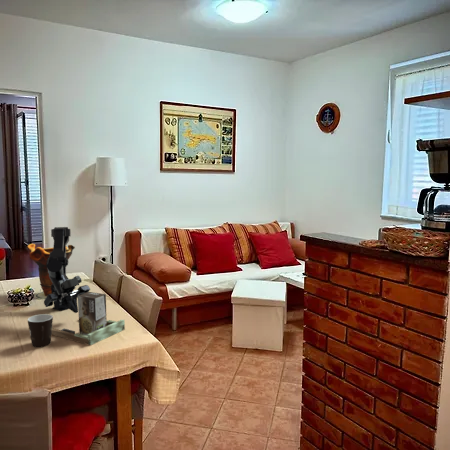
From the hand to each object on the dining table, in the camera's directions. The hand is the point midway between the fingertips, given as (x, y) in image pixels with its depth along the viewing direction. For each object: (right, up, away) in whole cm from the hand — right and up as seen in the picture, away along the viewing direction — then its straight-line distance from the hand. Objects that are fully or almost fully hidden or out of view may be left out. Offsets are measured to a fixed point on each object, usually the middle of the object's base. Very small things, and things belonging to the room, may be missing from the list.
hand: (76, 312), depth 170 cm
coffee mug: (-8, -9, -17) cm, 20 cm away
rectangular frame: (+5, -7, -3) cm, 9 cm away
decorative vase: (-30, -1, +48) cm, 57 cm away
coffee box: (+8, -8, -5) cm, 13 cm away
